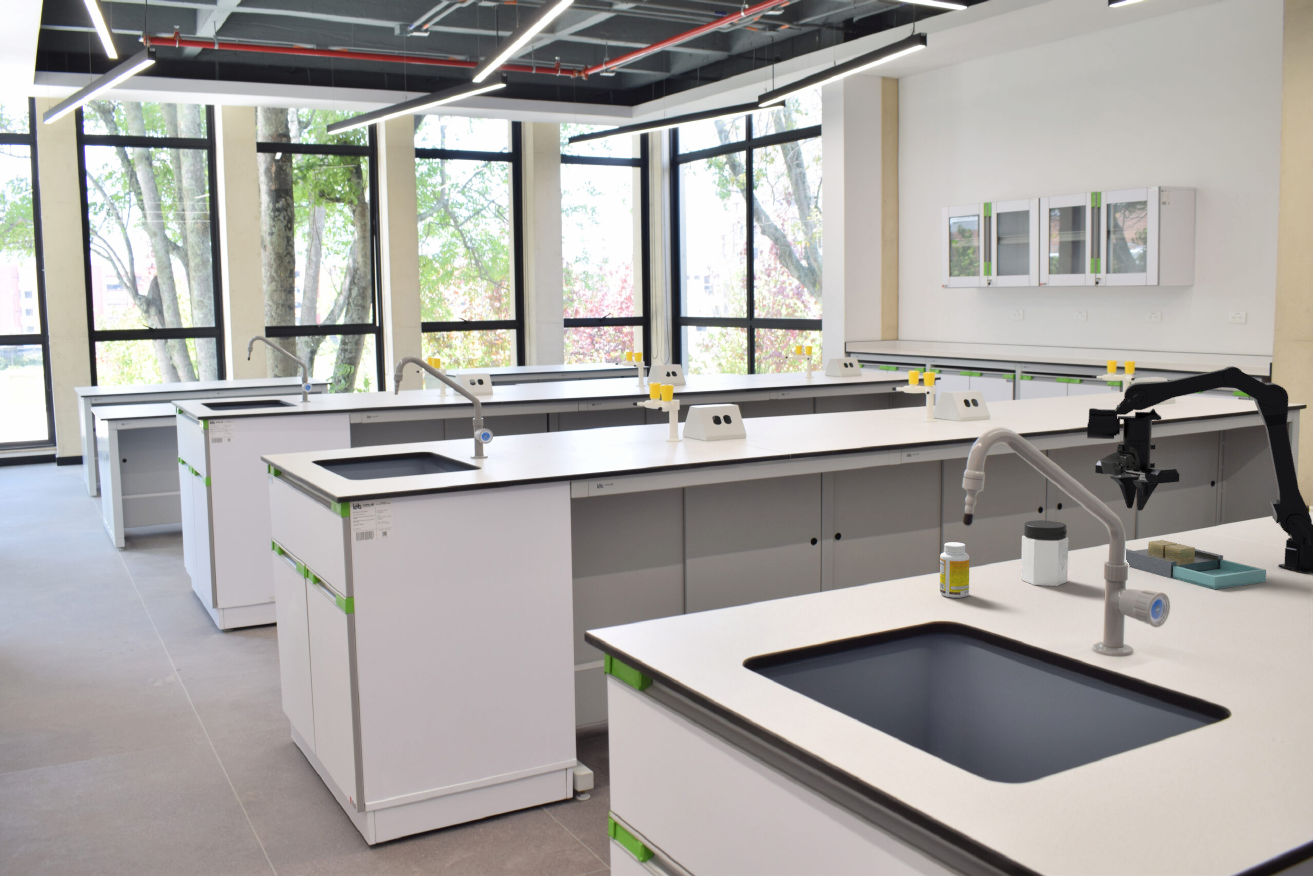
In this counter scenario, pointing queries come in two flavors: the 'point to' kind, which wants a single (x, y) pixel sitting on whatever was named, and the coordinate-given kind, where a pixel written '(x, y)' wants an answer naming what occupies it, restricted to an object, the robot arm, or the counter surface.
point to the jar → (1044, 553)
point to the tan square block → (1158, 547)
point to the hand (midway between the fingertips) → (1134, 509)
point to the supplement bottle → (954, 571)
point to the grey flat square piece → (1172, 562)
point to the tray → (1222, 575)
